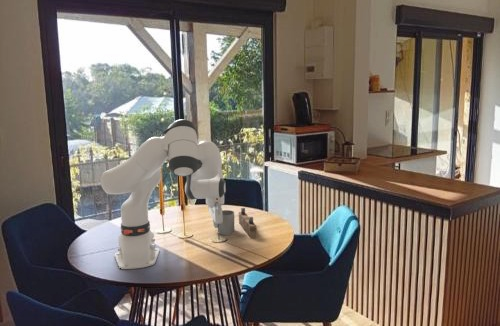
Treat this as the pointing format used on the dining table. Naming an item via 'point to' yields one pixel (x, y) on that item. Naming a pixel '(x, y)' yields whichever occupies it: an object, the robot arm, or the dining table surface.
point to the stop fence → (247, 224)
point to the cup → (227, 223)
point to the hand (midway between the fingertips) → (215, 227)
